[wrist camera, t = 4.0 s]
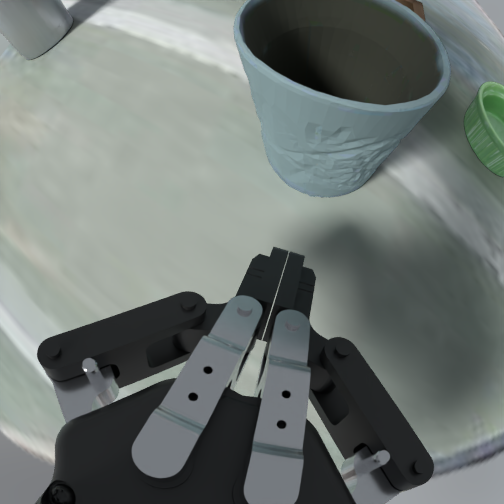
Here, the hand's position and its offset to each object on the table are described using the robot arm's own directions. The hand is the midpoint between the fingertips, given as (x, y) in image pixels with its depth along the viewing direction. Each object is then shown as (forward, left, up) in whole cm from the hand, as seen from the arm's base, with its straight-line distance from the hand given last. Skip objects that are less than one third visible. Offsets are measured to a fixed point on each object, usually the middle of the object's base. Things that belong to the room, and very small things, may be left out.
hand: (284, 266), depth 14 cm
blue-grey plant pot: (0, +10, -6) cm, 12 cm away
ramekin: (+17, +18, -7) cm, 26 cm away
